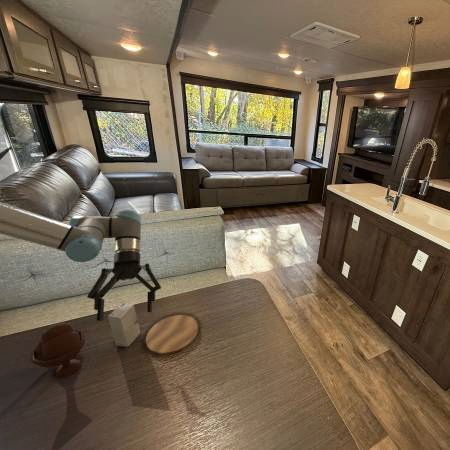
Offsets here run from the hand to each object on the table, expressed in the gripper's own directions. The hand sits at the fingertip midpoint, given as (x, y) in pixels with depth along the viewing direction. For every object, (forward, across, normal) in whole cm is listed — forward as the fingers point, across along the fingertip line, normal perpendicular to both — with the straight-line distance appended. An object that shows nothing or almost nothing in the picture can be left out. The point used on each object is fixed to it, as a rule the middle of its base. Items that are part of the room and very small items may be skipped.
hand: (125, 316), depth 80 cm
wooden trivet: (+8, -13, -3) cm, 16 cm away
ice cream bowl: (+12, +13, 0) cm, 18 cm away
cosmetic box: (+7, 0, -4) cm, 8 cm away
